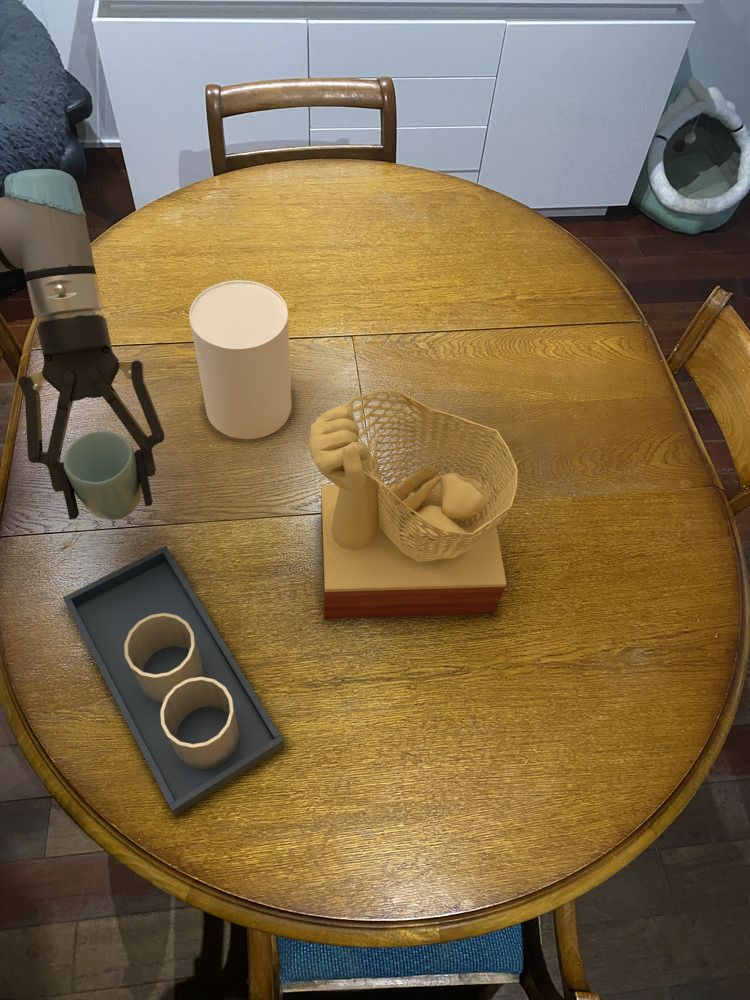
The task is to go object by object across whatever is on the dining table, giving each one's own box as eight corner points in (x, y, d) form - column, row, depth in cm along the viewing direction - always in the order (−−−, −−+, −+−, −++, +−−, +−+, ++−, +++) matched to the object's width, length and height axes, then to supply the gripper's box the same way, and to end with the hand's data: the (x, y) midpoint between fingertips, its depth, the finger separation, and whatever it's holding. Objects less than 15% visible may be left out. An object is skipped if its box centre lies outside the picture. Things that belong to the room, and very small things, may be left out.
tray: (69, 608, 105) (62, 597, 102) (169, 557, 110) (165, 545, 107) (176, 817, 91) (171, 811, 88) (284, 748, 96) (284, 740, 94)
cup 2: (130, 666, 101) (113, 634, 92) (186, 635, 104) (175, 601, 95) (157, 718, 97) (142, 690, 89) (215, 684, 100) (206, 654, 92)
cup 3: (162, 728, 97) (148, 700, 88) (221, 693, 100) (212, 664, 91) (192, 784, 93) (180, 761, 85) (252, 747, 96) (245, 721, 88)
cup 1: (71, 516, 98) (48, 469, 89) (106, 469, 102) (88, 421, 93) (126, 538, 96) (108, 493, 88) (159, 490, 100) (145, 443, 92)
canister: (201, 439, 121) (183, 347, 105) (210, 373, 129) (195, 278, 112) (289, 441, 122) (285, 350, 106) (293, 376, 130) (290, 282, 113)
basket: (311, 623, 106) (310, 473, 76) (309, 511, 115) (307, 340, 86) (493, 617, 108) (559, 469, 79) (475, 507, 118) (529, 340, 88)
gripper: (-37, 329, 84) (14, 533, 89) (162, 303, 87) (199, 500, 93) (-19, 330, 91) (27, 519, 96) (164, 306, 95) (199, 489, 100)
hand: (112, 509), depth 94 cm, fingers closed on cup 1, 8 cm apart
